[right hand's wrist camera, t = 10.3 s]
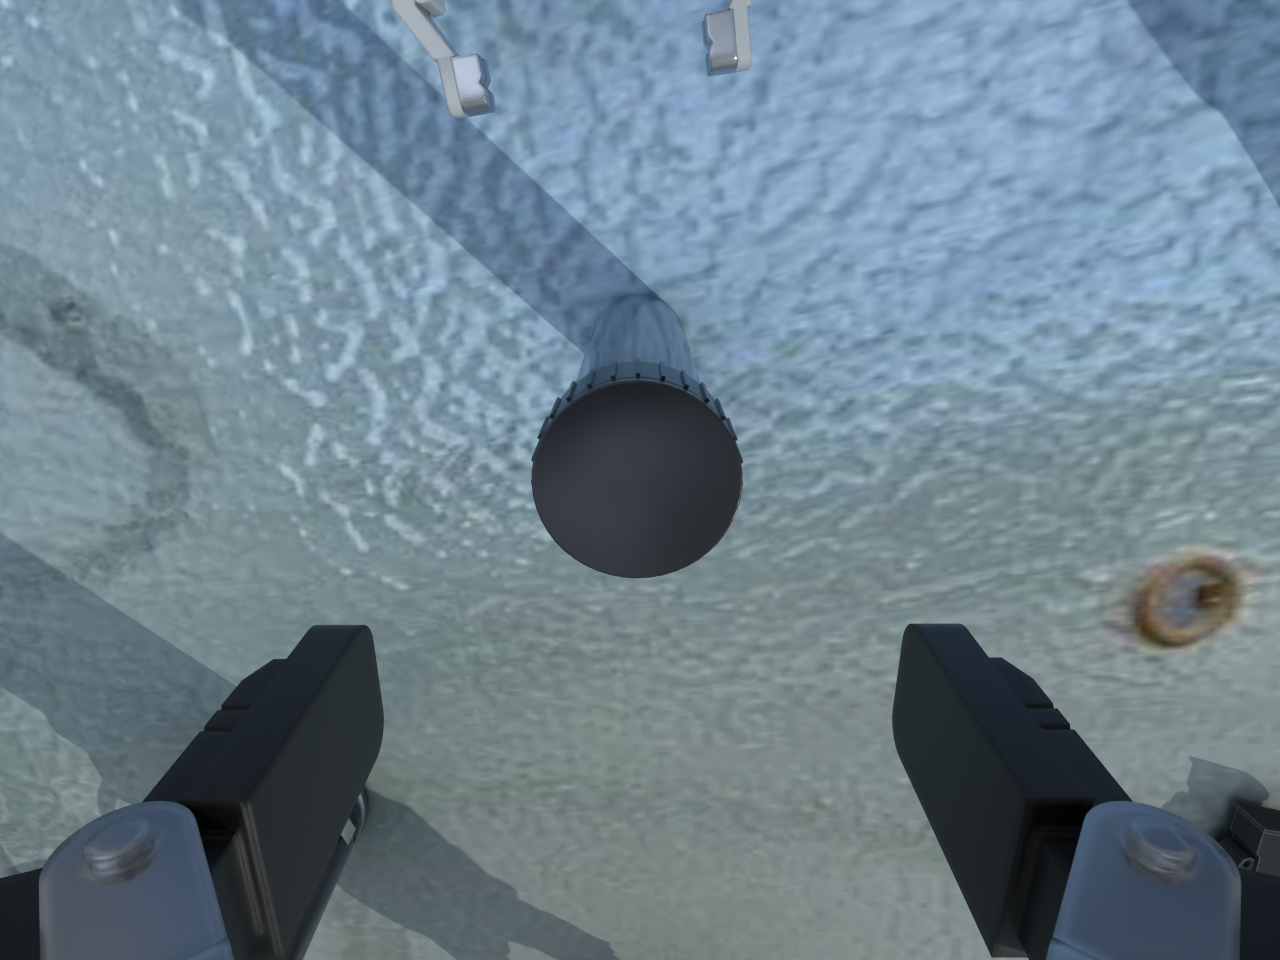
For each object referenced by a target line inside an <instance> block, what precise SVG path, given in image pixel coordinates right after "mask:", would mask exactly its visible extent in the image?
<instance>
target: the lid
mask: <svg viewBox="0 0 1280 960" xmlns="http://www.w3.org/2000/svg"><path fill="white" fill-rule="evenodd" d="M538 439H539V442H538V444H537V447H536V449H535V452H534V454H533V456H532V461H533V467H532V480H531V484H532V491H533V497H534V501H535V505H536V509H537V511H538V514H539V516H540V519H541V521H542V523H543V524H544V526H545V528H546V530H547V531H548V533H549V534H550V535H551V537H552V538H553V539H554V540H555V542H556V543H557V544H558V545H559V546H560V547H561V548H562V549H563V550H564V551H565V552H567V553H568V554H569V555H570V556H572V557H573V558H574V559H576V560H577V561H579V562H581V563H582V564H584V565H586V566H588V567H590V568H592V569H595V570H597V571H600V572H603V573H606V574H609V575H614V576H619V577H627V578H649V577H655V576H661V575H665V574H668V573H672V572H675V571H677V570H680V569H682V568H684V567H687V566H689V565H690V564H692V563H694V562H695V561H697V560H699V559H700V558H701V557H703V556H704V555H705V554H707V553H708V552H709V551H710V550H711V549H712V548H713V547H714V546H715V545H716V544H717V543H718V542H719V541H720V540H721V538H722V537H723V536H724V534H725V533H726V532H727V530H728V528H729V527H730V525H731V523H732V521H733V519H734V517H735V514H736V512H737V510H738V506H739V502H740V499H741V492H742V486H743V481H742V467H741V463H743V459H742V457H741V454H740V452H739V449H738V446H737V444H736V440H737V437H736V435H735V432H734V430H733V427H732V425H731V422H730V420H729V418H727V419H726V416H725V414H724V411H723V408H722V406H721V403H720V401H719V399H718V398H717V399H716V400H715V399H714V398H713V397H712V395H711V394H710V393H709V392H708V391H707V390H706V387H705V384H704V383H703V382H701V383H698V382H697V381H696V380H694V379H693V378H691V377H690V376H688V375H687V374H686V371H685V370H683V369H682V370H681V371H679V370H677V369H674V368H671V367H668V366H665V365H664V362H661V361H660V363H659V364H657V363H652V362H640V359H636V362H623V363H618V364H617V361H614V362H613V363H612V365H609V366H606V367H603V368H600V369H598V370H596V371H595V369H592V370H590V374H588V375H586V376H585V377H583V378H582V379H580V380H579V381H577V382H575V381H573V382H572V383H571V385H570V388H569V389H568V390H567V392H566V393H565V394H564V395H563V396H562V397H561V398H559V397H558V398H557V399H556V401H555V403H554V406H553V408H552V410H551V413H550V415H549V417H547V416H546V419H545V421H544V423H543V426H542V428H541V430H540V433H539V435H538Z"/></svg>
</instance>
